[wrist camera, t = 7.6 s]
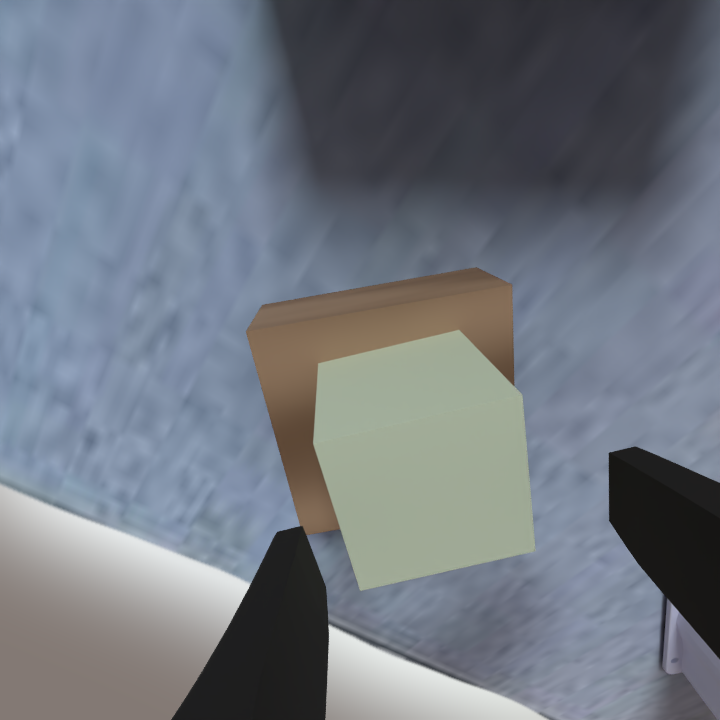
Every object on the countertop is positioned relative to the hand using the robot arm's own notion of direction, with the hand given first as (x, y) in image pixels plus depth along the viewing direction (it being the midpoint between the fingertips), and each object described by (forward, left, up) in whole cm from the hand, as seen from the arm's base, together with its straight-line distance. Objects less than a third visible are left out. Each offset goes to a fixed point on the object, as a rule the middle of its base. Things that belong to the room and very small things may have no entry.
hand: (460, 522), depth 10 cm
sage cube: (0, 0, -6) cm, 6 cm away
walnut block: (-1, +1, -10) cm, 10 cm away
